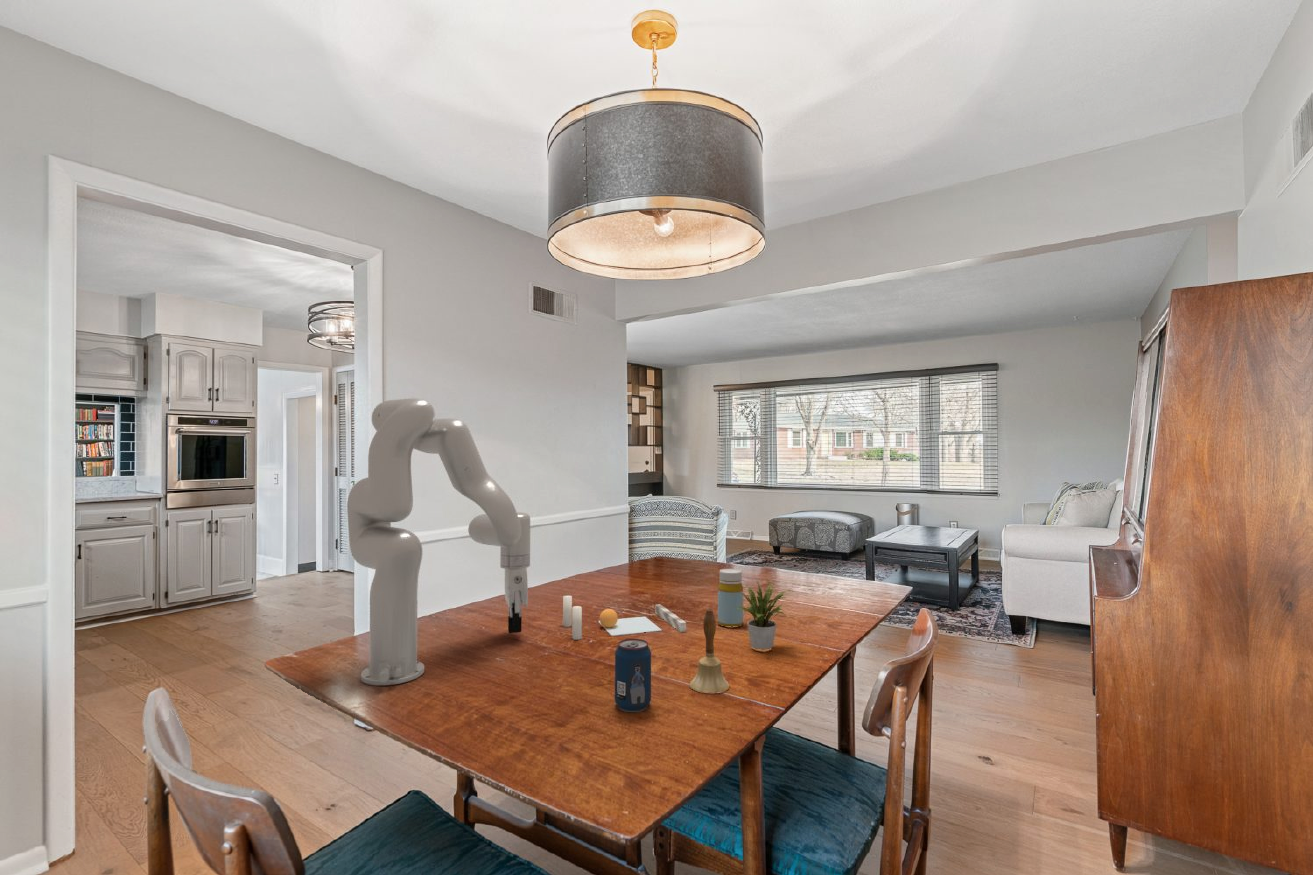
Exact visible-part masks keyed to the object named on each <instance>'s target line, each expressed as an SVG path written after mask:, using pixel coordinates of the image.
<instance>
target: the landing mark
mask: <svg viewBox="0 0 1313 875" xmlns="http://www.w3.org/2000/svg"><path fill="white" fill-rule="evenodd" d="M597 622H598V623H599V625H601V627H603V629H604V630H605V631H606V632H607V633H608V634H609V635H610V636H611V637H615V636H625V635H634V634H635V635H636V634H644V632H646V633H654V632H656V633H657V632H662V631H663V630H662V629H661V628H660V627H659V626H658V625H657V624H655V623H654V622H653V621H651V620H650V619H649V618H648V617H647V616H635V617H627V618H626V617H625V618H618V621H617V623H616V625H615V626H613V627H611V628H606V627H604V626H603V625H602V624H601V623H600V620H598V621H597Z"/></svg>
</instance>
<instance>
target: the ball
mask: <svg viewBox="0 0 1313 875" xmlns="http://www.w3.org/2000/svg"><path fill="white" fill-rule="evenodd" d="M618 619H619V617H618V614H617V612H616V611H615V610H614V609H611V608H605V609H604V610H602V611H601V613H600V615H599V621H600V623H601V624H602V625H603V626H604V627H606V628H611V627H613V626H615V625H616V623H617V621H618ZM600 623H599V624H600ZM601 624H600V625H601ZM602 625H601V626H602ZM603 626H602V627H603ZM604 627H603V628H604Z"/></svg>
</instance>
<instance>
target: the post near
mask: <svg viewBox="0 0 1313 875" xmlns="http://www.w3.org/2000/svg"><path fill="white" fill-rule="evenodd" d="M582 612H583V607H582V606H580V605H575V606H572V626H571V627H572V630H571V633H572V634H571V635H572V637H571V638H572V640H574V641H579V640H581V639H582V638H583V633H582V629H583V627H582V626H583V625H582V624H583V622H582V618H583V614H582Z"/></svg>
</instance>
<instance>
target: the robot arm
mask: <svg viewBox="0 0 1313 875" xmlns="http://www.w3.org/2000/svg"><path fill="white" fill-rule="evenodd" d="M435 412H436V411H435V408H434V406H433V405H432V404H431V403H430V402H429V401H428V400H425V399H421V398H417V397H416V398H414V397H413V398H412V397H411V398H402V399H401V398H400V399H389V400H386V401H383V402H382V401H381V403H378V404H377V405H376V406H375V408H374V409H373V411H372V413H371V423H372V426H373V428H374V429H375V431H376V432H375V433H374V434H373V437H372V439H371V441H370V445H369V448H368V455H367V465H368V466H367V468H368V470H367V474H368V476H367V477H365V478H362V479H360V480H358V481H357V482H355V484H354V485H353V486H352V487H351V489H350V491H349V494H348V496H347V504H346V505H347V510H346V512H347V525H348V526H347V527H348V539H349V548H350V553H351V556H352V558H353V560H354V561H355V562H356V563H358V565H360V566H362V567H365V568H369V569H372V570H375V571H374V576H373V579H372V582H371V585H370V590H369V635H368V636H369V637H368V638H369V642H368V643H369V649H368V656H369V657H368V660H369V661H368V667H366V668H365V669H363V670H362V671H361V674H360V680H361V682H362V683H364V684H366V685H371V686H392V685H393V686H394V685H399V684H404V683H407V682H410V681H414V680H415V679H418V678H420V677H421V676H422V675H423V674H424V673H425V665H424V663H423V662H421V661H418V593H419V592H418V590H419V588H418V587H419V586H418V585H419V576H420V575H419V574H420V569H421V564H422V559H423V546H422V542H421V540H420V538H419V537H418V536H417V535H416V534H415V533H414V532H412V531H410V530H407V529H405V528H401V527H395V526H394V527H393V526H391V524H392V523H398V522H401V521H404V520H405V519H406V518H408V517H409V516H410V515H411V512H412V510H413V508H414V507H413V505H414V495H413V482H412V481H413V480H412V454H413V451H414V450H417V451H420V452H423V453H426V454H433V455H434V454H435V455H436V454H437V455H438V456H439V457H440V461H441V462H442V465H443V467H444V469H445V472H446V473H447V475H448V478H449V480H450V483H451V485H452V487H453V488H454V489H455V490H456V491H457V492H458V493H460V495H462V496H464V497H466V498H467V499H469V500H471V501H472V502H474V503H475V504H476V505H478V506H479V507H480V509H482V511H483V512H484V514H480V515H479V514H478V515H477V516H474V517H473V519H471V521H470V522H469V525H468V530H467V531H468V535H469V537H470V538H471V539H472V540H473V541H474V542H476V543H478V544H481V545H486V546H495V547H500V556H499V557H500V558H499V560H500V563H499V564H500V568H501V569H504V599H505V603H506V605H507V606H508V617H507V620H508V621H507V623H508V624H507V631H508V634H514V633H515V634H516V633H521V632H522V629H523V628H522V625H523V624H522V623H523V622H522V620H523V619H522V605H523V606H524V607H526V608H527V607H528V606H529V589H528V584H529V583H528V570H527V568H529V567H531V516H530V515H529V514H528V513H527V512H520V511H517V510H516V507H515V505H514V503H513V501H512V499H511V498H510V497H509V495H508V494H507V493H506V492H505V490H504V489H503V488H502V487H501V486H500V485H499V483H497V481H496V480H495V479H494V478H493V477H491V476H490V475H489V473H488V472H487V469H486V467H485V464H484V463H483V462H484V461H483V459H482V457H481V455H480V452H479V450H478V447H477V446H476V443H475V441H474V439H473V438H474V437H473V436H472V434H471V431H470V430H469V426H468V425H467V424H466V423H465V422H464V421H462V420H460V419H457V418H435V417H436V413H435Z"/></svg>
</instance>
